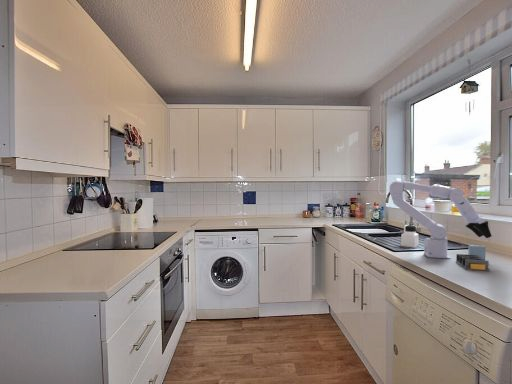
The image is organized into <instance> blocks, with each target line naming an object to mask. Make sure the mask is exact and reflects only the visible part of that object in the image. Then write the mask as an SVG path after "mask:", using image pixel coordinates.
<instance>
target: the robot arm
mask: <svg viewBox="0 0 512 384" xmlns="http://www.w3.org/2000/svg"><path fill="white" fill-rule="evenodd" d="M410 190H414V191H420V192H424V193H425V192H426V193H429V194H430V196H432V197H437V198H441V199H442V198H443V199H449V200H451V201H452V202H453V204H454V206H455V209H457V211H458V212H459V214H460V215H461V216H462V218H463V220H464V221H465V223H466V225H465V227H466V228H467V229H469V230H470V231H472V232H473V233H474V234H475V235H476V236H477V237H478V238H481V237H485V238H486V239H489V238H491V237H493V236H492V233H491V231H490V227H489V221H488V220H484V219H483V218H482V217H484V216H483V215H482V214H478V213H477V211H476V210H475V208H474V206H473V205H472V203H471V202H470V201H469V200H468V199H467V197H466V196H464V192H463V190H461V189H460V188H456V187H453V186H450V185H449V186H445V185H441V184H440V183H436V184H433V185H425V184H421V183H416V182H412V181H398V180H397V181H396V180H395V181H393V182H392V183H390V184H389V194H390V197H391V200H392V203H393V204H394V205H395V206H396V207H398V208H399V209H400V210H401V211H403V212H405V214H407V215H408V216H410V217H411V218H413V220H415V221H416V222H418V224H420V225H421V226H423V227H424V228H425V229H426V230H428V231H429V232H430V234H431V235H430V236H429V237H425V238H424V242H423V243H424V244H423V247H424V249H423V254H424V255H425V256H426V257H427V258H432V259H434V258H435V259H451V256H449V255H448V237H447V235H448V231H447V229H446V227H445V225H444V224H441V223H437V222H436V221H434V220H433V219H431V218H430V217H428V216H427V215H425V214H424V213H423V212H421V211H420V210H419V209H417V208H416V207H414V206H413V205H411V204H410V203H409V202H407V201H406V200H405V199H404V191H410Z"/></svg>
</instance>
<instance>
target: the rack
mask: <svg viewBox="0 0 512 384" xmlns="http://www.w3.org/2000/svg"><path fill="white" fill-rule="evenodd" d="M489 262H490V261H489V260H486V258H485V259H482V258H481V257H478V255H468V253H467V254H465V253H464V254H462V253H456V259H455V263H456V264H457V265H459V266H461V267H462V268H463V269H464V270H466V271H467V270H469V271H481V272H482V271H485V272H486V271H487V272H490V268H489Z"/></svg>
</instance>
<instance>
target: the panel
mask: <svg viewBox="0 0 512 384" xmlns="http://www.w3.org/2000/svg"><path fill="white" fill-rule="evenodd" d="M467 248H468V249H467V251H468V252H467V255H478V257H481V258H482V259H485V260H486V246H485V245H471V244H470V245H468V247H467Z"/></svg>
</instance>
